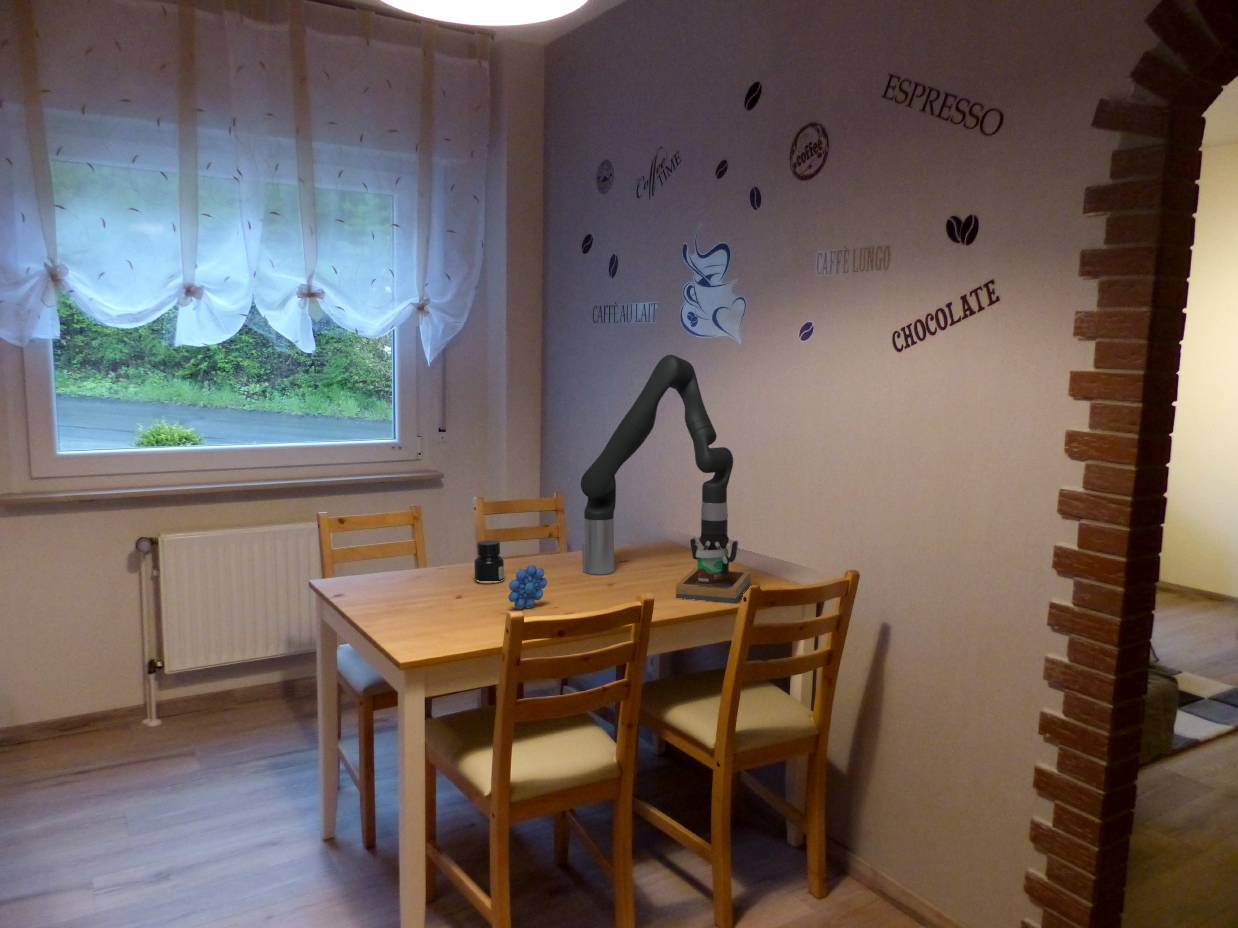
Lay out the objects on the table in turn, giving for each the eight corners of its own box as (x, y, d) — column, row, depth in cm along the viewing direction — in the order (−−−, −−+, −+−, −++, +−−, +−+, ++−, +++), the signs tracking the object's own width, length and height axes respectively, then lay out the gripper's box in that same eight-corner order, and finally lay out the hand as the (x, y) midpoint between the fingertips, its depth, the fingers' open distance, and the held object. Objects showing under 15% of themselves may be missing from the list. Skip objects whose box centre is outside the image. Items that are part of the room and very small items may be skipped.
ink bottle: (508, 582, 276) (507, 543, 274) (480, 586, 272) (479, 546, 270) (498, 575, 284) (497, 538, 283) (470, 579, 280) (469, 540, 279)
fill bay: (675, 598, 256) (675, 584, 256) (694, 580, 276) (694, 567, 276) (735, 603, 251) (735, 589, 250) (750, 584, 271) (750, 571, 270)
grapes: (539, 601, 255) (538, 559, 253) (551, 606, 249) (550, 563, 248) (501, 608, 249) (500, 564, 247) (513, 613, 243) (512, 569, 242)
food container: (714, 587, 256) (714, 552, 255) (695, 584, 260) (695, 549, 258) (736, 578, 266) (736, 544, 265) (717, 575, 270) (717, 542, 268)
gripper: (686, 518, 260) (686, 576, 262) (736, 520, 255) (736, 579, 257) (693, 513, 267) (693, 570, 269) (741, 516, 262) (741, 573, 264)
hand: (714, 574), depth 263 cm, fingers closed on food container, 5 cm apart
